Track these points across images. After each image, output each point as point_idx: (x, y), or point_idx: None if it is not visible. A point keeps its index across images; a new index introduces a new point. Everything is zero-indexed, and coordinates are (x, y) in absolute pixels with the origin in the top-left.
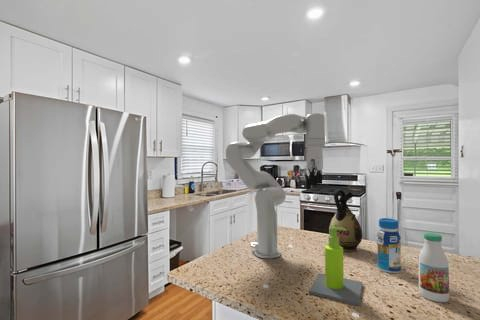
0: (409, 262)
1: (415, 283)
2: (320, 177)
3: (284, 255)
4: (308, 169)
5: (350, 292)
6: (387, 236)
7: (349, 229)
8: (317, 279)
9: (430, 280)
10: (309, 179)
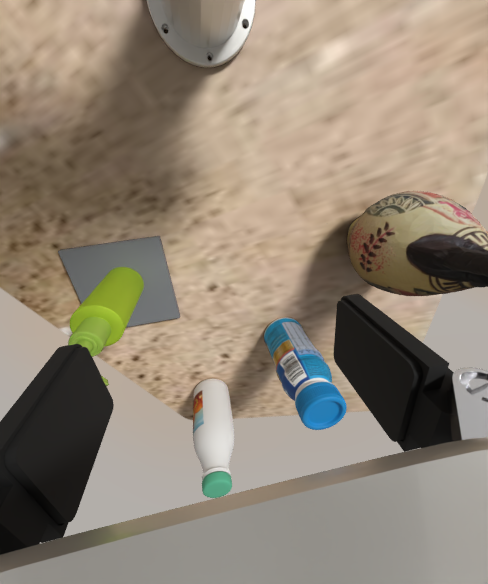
0: None
1: (243, 369)
2: (374, 401)
3: (228, 80)
4: (98, 565)
5: None
6: (285, 386)
7: (376, 275)
8: (123, 246)
9: (193, 414)
10: (23, 408)
